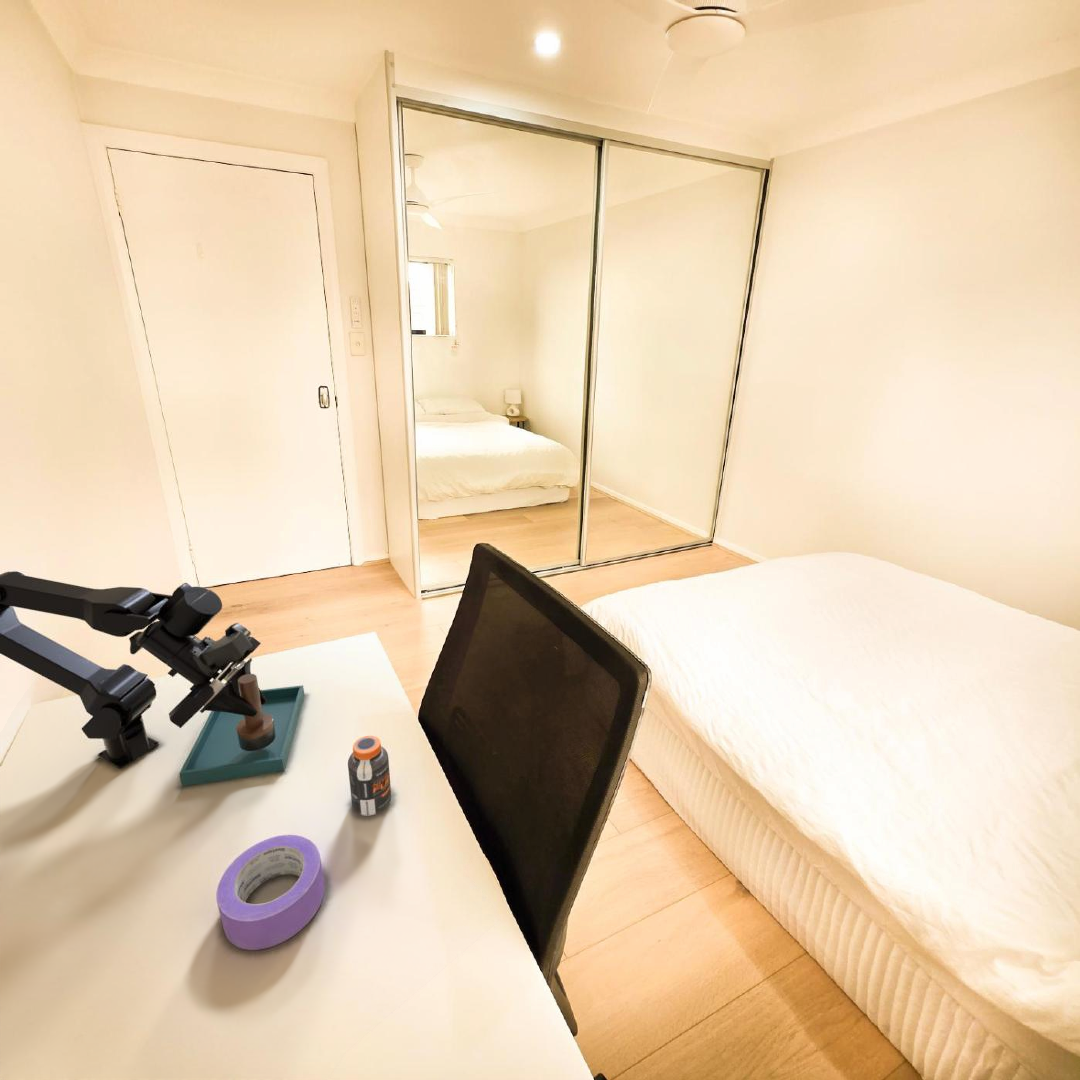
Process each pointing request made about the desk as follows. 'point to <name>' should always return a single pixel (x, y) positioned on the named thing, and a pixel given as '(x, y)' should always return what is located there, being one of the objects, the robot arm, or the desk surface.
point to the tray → (221, 750)
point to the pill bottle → (369, 776)
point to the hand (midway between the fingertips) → (260, 708)
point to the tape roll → (280, 915)
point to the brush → (254, 718)
